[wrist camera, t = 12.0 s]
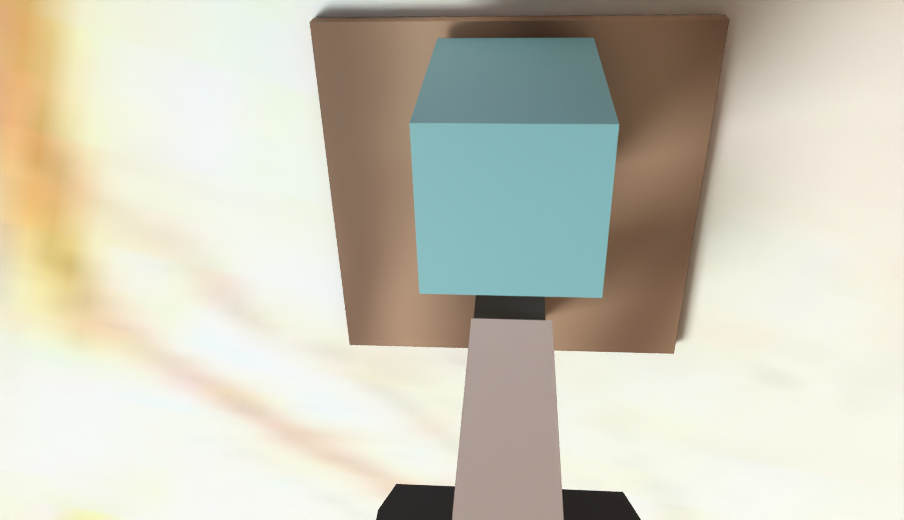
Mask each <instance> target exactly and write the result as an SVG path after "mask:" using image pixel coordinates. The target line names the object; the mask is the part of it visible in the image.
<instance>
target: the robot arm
mask: <svg viewBox="0 0 904 520" xmlns="http://www.w3.org/2000/svg"><path fill="white" fill-rule="evenodd" d="M376 520H641V519H640V518H639V516H638V515H637V513H636V511H635V510H634V508H633V507H632V505H631V504H630V502H629V501H628V499H627V497H626V496H625V494H624V493H623V492H611V491H588V490H565V489H562V483H561V466H560V448H559V431H558V413H557V396H556V378H555V361H554V343H553V326H552V320H513V319H474V318H471V326H470V336H469V347H468V357H467V368H466V378H465V389H464V399H463V410H462V420H461V431H460V441H459V452H458V462H457V472H456V483H455V487H453V486H430V485H407V484H396V485H395V487H394V488H393V490H392V491H391V493H390V494H389V495H388V497H387V498H386V500H385V501H384V502H383V504H382V505H381V507H380V508H379V510H378V514H377V519H376Z"/></svg>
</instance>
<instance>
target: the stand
mask: <svg viewBox="0 0 904 520" xmlns="http://www.w3.org/2000/svg"><path fill="white" fill-rule="evenodd" d="M728 23H729V19H728V18H727V17H726V15H627V16H487V17H348V18H313V19H312V20H311V21H310V28H311V36H312V44H313V52H314V60H315V68H316V76H317V85H318V93H319V101H320V109H321V117H322V125H323V133H324V141H325V149H326V157H327V165H328V173H329V181H330V189H331V197H332V205H333V213H334V221H335V229H336V238H337V246H338V254H339V262H340V270H341V278H342V286H343V294H344V302H345V310H346V318H347V326H348V334H349V342H350V345H377V346H414V347H450V348H468V347H469V336H470V326H471V318H474V319H513V320H552V326H553V343H554V350H560V351H596V352H633V353H669V354H674V350H675V344H676V338H677V332H678V325H679V319H680V313H681V307H682V301H683V295H684V289H685V283H686V277H687V271H688V265H689V259H690V253H691V247H692V241H693V235H694V229H695V223H696V217H697V211H698V205H699V199H700V193H701V187H702V180H703V174H704V168H705V162H706V156H707V150H708V144H709V138H710V132H711V126H712V120H713V114H714V108H715V102H716V96H717V90H718V84H719V78H720V72H721V66H722V60H723V54H724V48H725V42H726V35H727V29H728ZM437 38H594V40H595V44H596V47H597V50H598V54H599V57H600V61H601V64H602V67H603V71H604V74H605V78H606V81H607V84H608V88H609V91H610V95H611V98H612V101H613V105H614V108H615V111H616V115H617V118H618V122H619V132H618V142H617V152H616V162H615V173H614V183H613V193H612V203H611V213H610V224H609V234H608V244H607V254H606V265H605V275H604V285H603V295H602V298H584V297H541V296H497V295H454V294H419V279H418V262H417V245H416V228H415V211H414V193H413V176H412V159H411V142H410V125H409V123H410V120H411V117H412V114H413V111H414V108H415V105H416V102H417V99H418V96H419V93H420V90H421V86H422V83H423V80H424V77H425V74H426V71H427V68H428V65H429V62H430V59H431V56H432V53H433V50H434V47H435V44H436V41H437Z"/></svg>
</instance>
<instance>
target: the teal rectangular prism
mask: <svg viewBox="0 0 904 520" xmlns="http://www.w3.org/2000/svg"><path fill="white" fill-rule="evenodd" d="M409 125H410V142H411V159H412V176H413V193H414V211H415V228H416V245H417V262H418V279H419V294H454V295H497V296H541V297H584V298H602V295H603V285H604V275H605V265H606V254H607V244H608V234H609V224H610V213H611V203H612V193H613V183H614V173H615V162H616V152H617V142H618V132H619V122H618V118H617V115H616V111H615V108H614V105H613V101H612V98H611V95H610V91H609V88H608V84H607V81H606V78H605V74H604V71H603V67H602V64H601V61H600V57H599V54H598V50H597V47H596V44H595V40H594V38H437V41H436V44H435V47H434V50H433V53H432V56H431V59H430V62H429V65H428V68H427V71H426V74H425V77H424V80H423V83H422V86H421V90H420V93H419V96H418V99H417V102H416V105H415V108H414V111H413V114H412V117H411V120H410V123H409Z"/></svg>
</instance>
